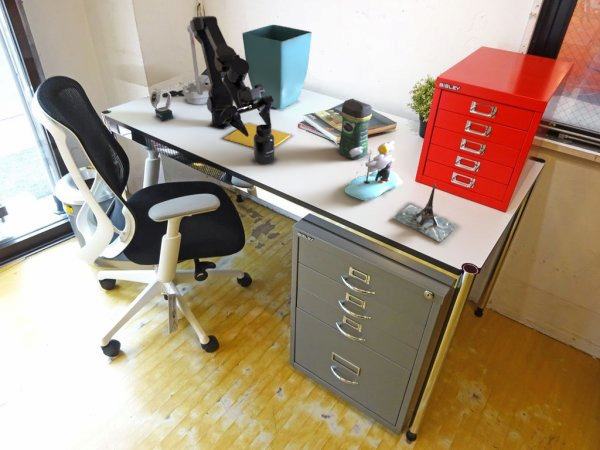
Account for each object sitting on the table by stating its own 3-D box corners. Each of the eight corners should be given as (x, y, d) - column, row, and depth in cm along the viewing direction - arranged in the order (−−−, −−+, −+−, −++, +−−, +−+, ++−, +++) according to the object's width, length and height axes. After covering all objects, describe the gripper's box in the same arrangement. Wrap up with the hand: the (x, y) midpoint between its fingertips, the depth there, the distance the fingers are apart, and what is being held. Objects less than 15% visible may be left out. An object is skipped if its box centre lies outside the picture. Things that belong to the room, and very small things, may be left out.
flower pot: (274, 90, 199) (273, 23, 182) (310, 100, 190) (312, 31, 173) (245, 103, 186) (240, 32, 169) (282, 115, 177) (281, 41, 160)
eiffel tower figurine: (391, 219, 122) (398, 178, 114) (410, 204, 128) (418, 164, 120) (439, 243, 114) (451, 200, 106) (457, 226, 120) (470, 184, 112)
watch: (151, 118, 173) (146, 90, 166) (170, 112, 178) (165, 85, 171) (158, 122, 170) (153, 94, 163) (177, 117, 174) (172, 89, 168)
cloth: (224, 138, 160) (224, 137, 160) (248, 124, 170) (248, 123, 170) (267, 152, 152) (267, 151, 152) (290, 135, 163) (290, 134, 162)
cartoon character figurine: (384, 171, 143) (390, 128, 134) (408, 185, 136) (417, 141, 127) (337, 190, 134) (340, 145, 124) (360, 206, 127) (366, 160, 118)
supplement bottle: (271, 166, 144) (271, 132, 137) (251, 164, 145) (250, 130, 138) (276, 156, 150) (276, 123, 142) (257, 154, 151) (256, 121, 143)
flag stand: (182, 95, 193) (171, 21, 174) (212, 92, 196) (204, 20, 178) (185, 106, 183) (174, 29, 165) (217, 103, 186) (209, 28, 168)
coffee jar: (370, 154, 152) (377, 103, 141) (355, 162, 148) (360, 109, 136) (350, 145, 157) (354, 94, 146) (334, 151, 153) (338, 100, 142)
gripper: (221, 83, 131) (245, 129, 131) (270, 70, 141) (292, 113, 141) (210, 100, 141) (232, 144, 141) (256, 87, 150) (277, 128, 151)
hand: (259, 132), depth 143 cm, fingers open, 9 cm apart
